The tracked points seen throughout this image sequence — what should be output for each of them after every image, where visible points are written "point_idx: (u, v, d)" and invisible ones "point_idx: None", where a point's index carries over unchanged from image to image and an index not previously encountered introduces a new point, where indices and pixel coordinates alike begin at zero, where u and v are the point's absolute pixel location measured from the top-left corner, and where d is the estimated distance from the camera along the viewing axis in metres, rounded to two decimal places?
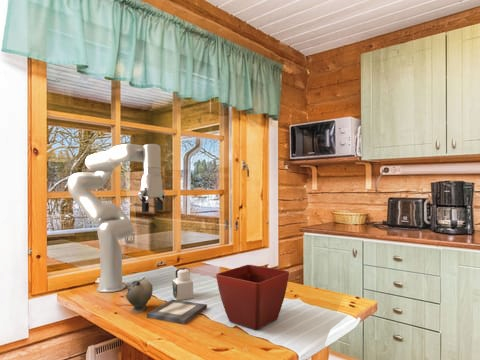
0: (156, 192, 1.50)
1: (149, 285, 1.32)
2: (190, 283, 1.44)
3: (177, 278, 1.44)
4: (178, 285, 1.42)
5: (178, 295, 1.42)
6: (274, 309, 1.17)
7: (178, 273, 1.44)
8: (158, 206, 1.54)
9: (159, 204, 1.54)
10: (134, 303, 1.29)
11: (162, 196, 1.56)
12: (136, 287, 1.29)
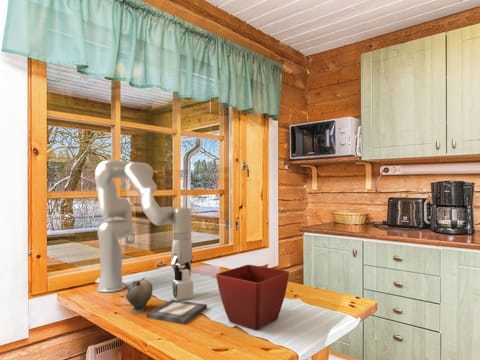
0: (187, 257, 1.46)
1: (149, 285, 1.32)
2: (190, 283, 1.44)
3: None
4: (178, 285, 1.42)
5: (178, 295, 1.42)
6: (274, 309, 1.17)
7: None
8: None
9: None
10: (134, 303, 1.29)
11: (190, 261, 1.51)
12: (136, 287, 1.29)
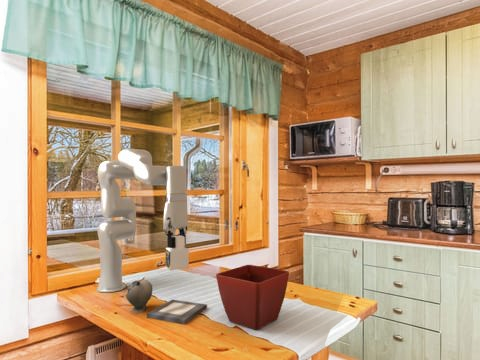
0: (181, 222, 1.28)
1: (149, 285, 1.32)
2: (185, 251, 1.26)
3: None
4: (171, 253, 1.24)
5: (171, 264, 1.24)
6: (274, 309, 1.17)
7: None
8: None
9: None
10: (134, 303, 1.29)
11: (185, 227, 1.33)
12: (136, 287, 1.29)
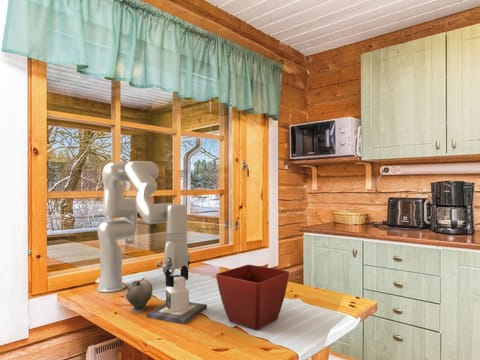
0: (182, 261, 1.28)
1: (149, 285, 1.32)
2: (185, 292, 1.26)
3: (171, 287, 1.26)
4: (172, 295, 1.24)
5: (172, 306, 1.24)
6: (274, 309, 1.17)
7: None
8: (183, 275, 1.33)
9: (184, 272, 1.33)
10: (134, 303, 1.29)
11: (187, 262, 1.34)
12: (136, 287, 1.29)
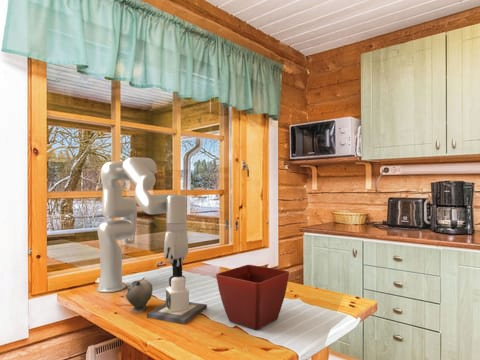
0: (182, 251, 1.28)
1: (149, 285, 1.32)
2: (185, 292, 1.26)
3: (171, 287, 1.26)
4: (172, 295, 1.24)
5: (172, 306, 1.24)
6: (274, 309, 1.17)
7: (172, 281, 1.26)
8: None
9: None
10: (134, 303, 1.29)
11: None
12: (136, 287, 1.29)
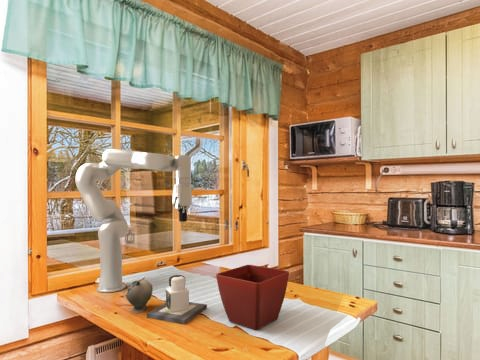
0: (187, 200, 1.57)
1: (149, 285, 1.32)
2: (185, 292, 1.26)
3: (171, 287, 1.26)
4: (172, 295, 1.24)
5: (172, 306, 1.24)
6: (274, 309, 1.17)
7: (172, 281, 1.26)
8: None
9: None
10: (134, 303, 1.29)
11: None
12: (136, 287, 1.29)
